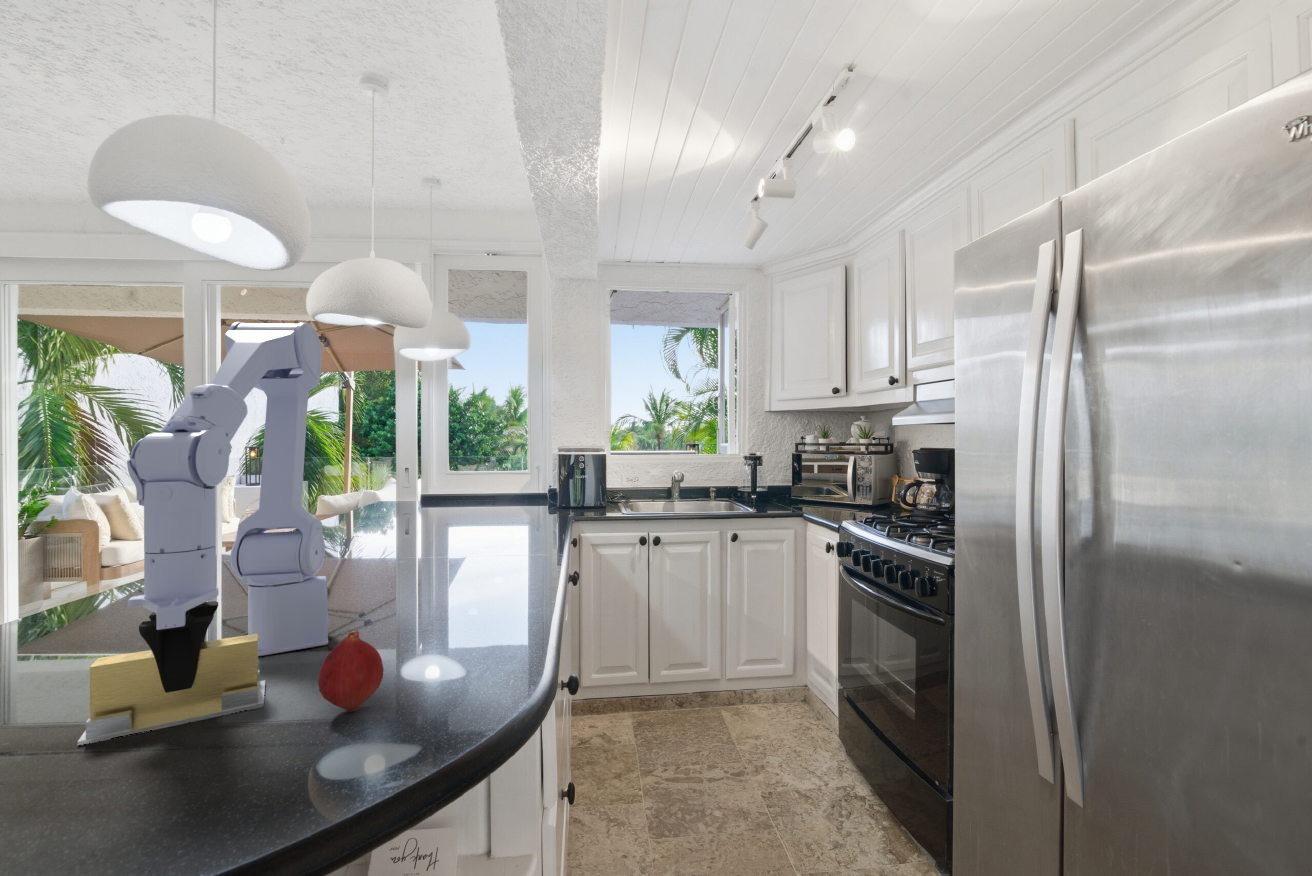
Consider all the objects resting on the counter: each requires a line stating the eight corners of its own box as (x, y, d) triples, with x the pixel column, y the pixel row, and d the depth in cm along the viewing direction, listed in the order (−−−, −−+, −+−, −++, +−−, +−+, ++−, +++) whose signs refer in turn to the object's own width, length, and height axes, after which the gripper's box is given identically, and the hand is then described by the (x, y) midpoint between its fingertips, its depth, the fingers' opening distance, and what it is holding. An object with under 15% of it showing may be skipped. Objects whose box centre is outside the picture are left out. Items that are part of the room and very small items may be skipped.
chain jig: (265, 683, 67) (265, 666, 67) (263, 706, 61) (263, 688, 61) (98, 715, 60) (98, 696, 60) (77, 746, 53) (77, 724, 53)
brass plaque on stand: (258, 688, 65) (258, 633, 65) (257, 697, 62) (257, 640, 62) (98, 719, 58) (98, 658, 58) (90, 731, 55) (89, 667, 55)
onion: (317, 729, 55) (316, 643, 56) (320, 706, 61) (319, 628, 61) (385, 715, 58) (384, 633, 58) (382, 694, 63) (381, 619, 63)
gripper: (143, 544, 64) (143, 670, 64) (111, 564, 52) (112, 720, 52) (223, 538, 68) (224, 656, 68) (211, 555, 56) (212, 700, 56)
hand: (181, 683), depth 60 cm, fingers open, 3 cm apart
